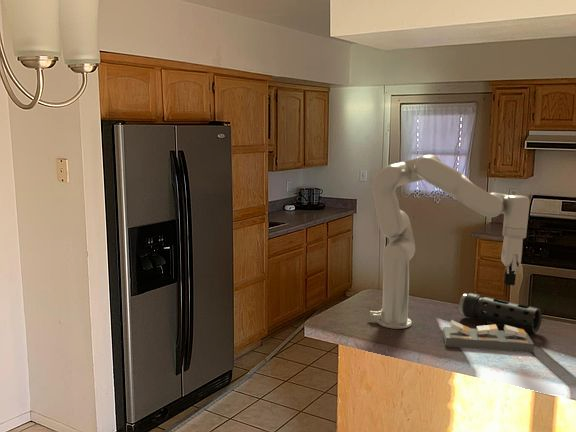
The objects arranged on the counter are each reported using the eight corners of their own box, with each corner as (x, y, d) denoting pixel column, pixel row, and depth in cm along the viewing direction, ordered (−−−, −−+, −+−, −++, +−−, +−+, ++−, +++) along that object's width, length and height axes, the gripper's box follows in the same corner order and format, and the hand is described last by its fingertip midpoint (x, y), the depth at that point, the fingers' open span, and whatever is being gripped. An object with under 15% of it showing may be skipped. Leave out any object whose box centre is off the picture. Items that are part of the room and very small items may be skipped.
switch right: (506, 333, 193) (507, 329, 192) (503, 328, 197) (504, 324, 197) (525, 338, 192) (526, 334, 192) (522, 333, 196) (523, 329, 196)
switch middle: (478, 334, 194) (478, 330, 194) (476, 329, 199) (476, 325, 199) (498, 332, 193) (498, 328, 193) (496, 328, 198) (495, 323, 198)
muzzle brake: (530, 339, 201) (533, 311, 199) (457, 320, 220) (458, 294, 218) (540, 332, 208) (543, 305, 206) (468, 314, 227) (469, 289, 225)
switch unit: (445, 346, 194) (446, 335, 193) (442, 334, 205) (443, 324, 204) (533, 352, 189) (534, 341, 188) (525, 340, 200) (526, 330, 199)
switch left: (451, 327, 196) (452, 324, 195) (449, 323, 200) (451, 319, 200) (468, 335, 195) (470, 332, 195) (466, 330, 200) (468, 327, 199)
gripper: (499, 227, 201) (494, 277, 204) (506, 235, 187) (501, 289, 190) (521, 228, 200) (516, 279, 203) (531, 237, 185) (525, 291, 188)
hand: (509, 284), depth 196 cm, fingers closed
